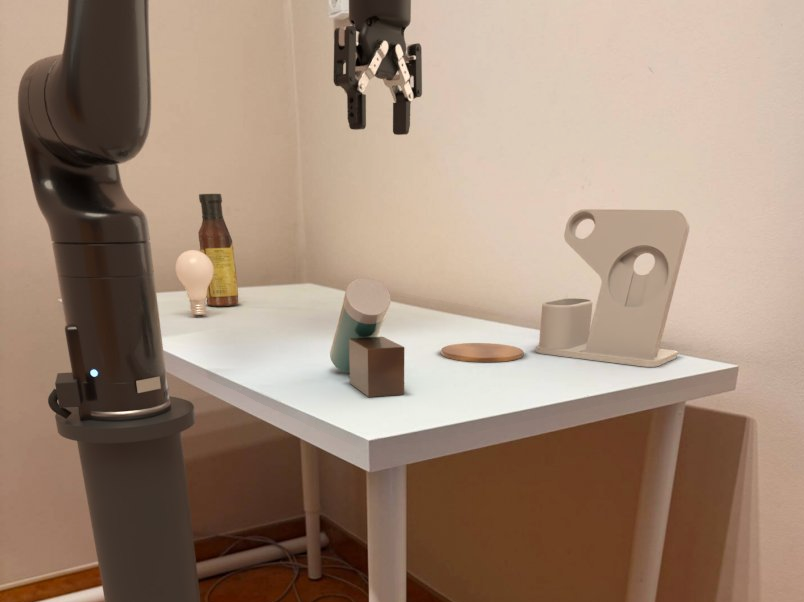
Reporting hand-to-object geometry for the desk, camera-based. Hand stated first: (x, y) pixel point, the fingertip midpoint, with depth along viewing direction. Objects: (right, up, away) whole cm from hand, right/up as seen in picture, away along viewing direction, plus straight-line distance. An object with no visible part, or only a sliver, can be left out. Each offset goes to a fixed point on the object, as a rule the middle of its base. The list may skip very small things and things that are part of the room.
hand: (379, 132), depth 97 cm
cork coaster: (+14, -27, +5) cm, 31 cm away
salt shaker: (-2, -33, -9) cm, 35 cm away
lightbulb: (-33, -13, +36) cm, 51 cm away
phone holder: (+30, -27, +6) cm, 41 cm away
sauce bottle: (-32, -7, +51) cm, 61 cm away
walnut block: (0, -36, -14) cm, 38 cm away
